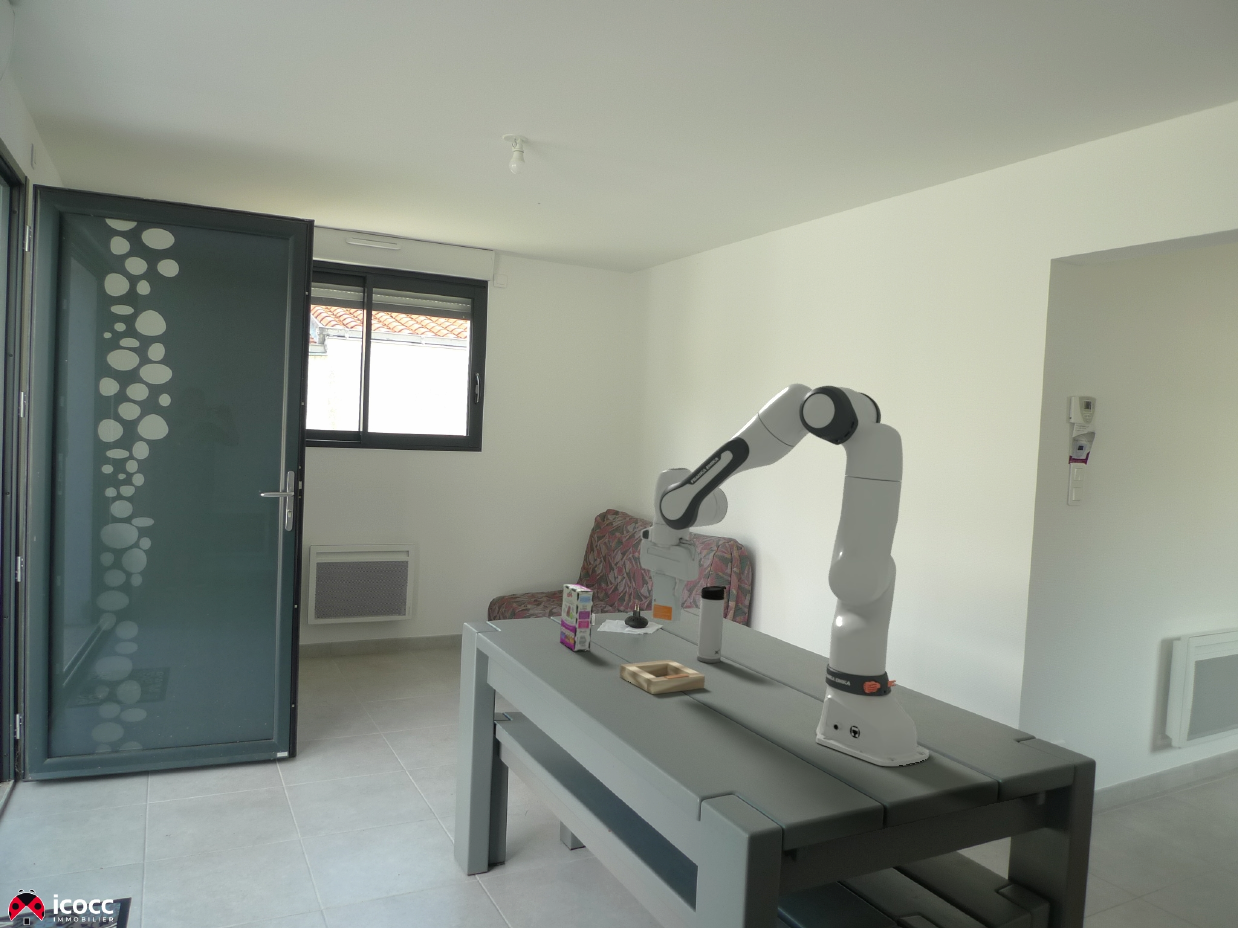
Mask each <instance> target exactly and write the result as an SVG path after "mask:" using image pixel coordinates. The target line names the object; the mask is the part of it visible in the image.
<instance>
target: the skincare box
mask: <svg viewBox="0 0 1238 928" xmlns="http://www.w3.org/2000/svg"><path fill="white" fill-rule="evenodd" d="M676 584H677V583H676V578H675V577H671V576H668V575H666V574H665V572H664V571H661V570H658V569H656V570H654V579H653V581H652V595H651V596H652V599H651V614H650V615H651V616H650V619H651V620H656V621H661V622H665V623H666V622H667V623H670V624H671V623H672V624H674V623H677V622H679V621H681V617H682V616H681V615H682V614H681V612H682V599H683V598H682V597H683V595H682V596H681V597H675V596H673V589H675V587H676Z"/></svg>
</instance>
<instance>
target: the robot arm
mask: <svg viewBox="0 0 1238 928" xmlns="http://www.w3.org/2000/svg"><path fill="white" fill-rule="evenodd" d="M881 421H882V413H881V409H880V407H879V405H878V402H876V401H875V400H874V398H872V397H871V396H870V395H868V394H867V393H864V392H860V391H856V390H854V389H852V388H850V387H843V386H834V385H822V386H818V387H816V388H814V389H812V388H811V387H809V386H807V385H805V384H802V383H798V382H797V383H791V384H789V385H788V386H786V387H784V388H783V389H781V391H779V392H778V393H776V394H775V395H774V396H773V397H771V398H770V399H769V400H768V401H767V402H766V403H765V404H764V405H763V406H762V407H761V408H760V409H759V410H758V411H757V412H756V414H754V415H753V416H752V417H751V419H750V420H748V421H747V423H746V424H745V425H744V426H742V427H741V428H740V430H738V431H737V432H736V433H735V434H734V435H733V436H732V437H731V438H729V439H728V440H727V441H726V442H725V443H723V445H721V446H720V447H719V448H718V449H716V450H715V451H714V452H713V453H711V455H710V456H708V458H706V459H705V460H704V461H702V463H701V464H699V465H698V466H697V467H696V468H695V470H693V471H691V470H690V469H689V468H687V467H686V468H685V467H678V468H674V467H673V468H669V469H668V468H667V469H663V470H661V471H660V472H659V473H658V476H657V477H656V482H655V488H654V498H653V505H654V507H653V508H654V517H653V519H652V526H649V527H647V528H644V529H642V530H641V531H640V539H642V541H641V543H640V553H639V561H640V566H641V568H642V569H646V570H649V571H650V578H651V580H652V582H653V579H654V570H656V569H658V570H661V571H664V572H665V574H666V575H668V576H671V577H675V578H676V583H677V584H676V587H675V589H673V596H675V597H681V596H682V597H683V590H684V588H685V586H686V584H687V582H691V581H692V582H693V581H696V580H698V578H699V575H700V563H699V560H700V559H699V553H698V549H697V546H696V544H695V543H694V541H693V540H690V528H697V527H698V528H701V527H707V526H714V525H717V524H719V523H721V522H722V521H723V520H724V519H725V517H726V516H727V512H728V507H729V506H728V505H729V504H728V502H729V501H728V498H727V496H726V493H725V492H724V491H723V490H722V489H721V488H720V487H721V486H723V484H724V483H726V482H727V481H728V480H729V479H731V478H732V477H733V476H735V475H737V474H739V473H742V472H745V471H748V470H752V469H757V468H762V467H765V466H771V465H774V464H775V463H777V462H778V461H781V459H782V458H784V457H786V456H787V455H788V454H789V453H790V452H792V450H793V449H794V448H795V447H796V446H798V444H799V443H800V442H801V441H802V440H803V439H804V438H805V437H806V436H807V435H808V434H811V435H813V436H815V437H816V438H819V439H820V440H823V441H826V442H829V443H831V444H832V445H835V446H839V445H841V446H842V447H843V448H844V451H845V455H846V464H845V471H844V481H843V489H842V490H843V491H842V502H841V510H840V517H839V522H838V526H837V530H836V535H835V540H834V544H833V550H832V556H831V561H830V566H829V570H828V571H829V572H828V577H827V578H828V585H829V588H830V590H831V592H832V593H833V595H834V596H835V597H836V598H837V599H836V606H835V611H834V616H833V620H832V623H831V628H830V629H831V631H830V642H829V643H830V645H829V661H828V663H827V664H826V670H825V683H826V691H825V695H824V696H825V697H824V700H823V705H822V709H821V716H820V719H819V722H818V725H817V727H816V730H815V733H816V738H815V742H816V743H817V744H819V745H822V746H825V747H828V748H830V749H834V750H836V751H839V752H841V753H844V754H846V755H850V756H853V757H856V758H857V759H861V760H863V761H865V762H869V763H872V764H875V765H877V766H881V767H882V766H883V767H900V766H899V765H903V766H907V765H906V764H909V763H915V762H919V763H921V762H920V761H922V760H924V761H926V760H927V759H929V757H930V751H929V750H928V749H926V748H925V747H923V746H921V745H919V744H918V733H917V732H918V731H917V727H916V723H915V721H914V720H913V719H912V718H911V716H910V715H909V714H908V713H907V712H906V711H905V709H904V708H903V707H902V705H901V704H900V703H899V702H898V700H897V699H896V697H894V696H893V694H892V687H896V684H894V683H897V680H895V679H894V680H890V679H889V675H888V673H887V672H888V671H886V667H887V665H886V664H887V653H888V652H887V650H888V638H889V637H888V636H889V628H890V622H891V616H892V609H893V601H894V596H895V595H894V594H895V587H896V577H897V576H896V575H897V565H896V562H895V560H894V558H893V556H892V550H893V549H892V548H893V543H894V539H895V538H894V537H895V533H896V528H897V525H898V520H899V512H900V511H899V510H900V500H901V495H902V494H901V492H902V485H903V470H904V468H903V467H904V460H903V458H904V454H903V443H902V436H901V434H900V432H899V431H898V430H897V429H895V427H893V426H891V425H888V424H886V423H883V422H881ZM925 759H926V760H925ZM922 762H923V761H922ZM915 764H916V763H915Z"/></svg>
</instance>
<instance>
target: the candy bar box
mask: <svg viewBox="0 0 1238 928" xmlns="http://www.w3.org/2000/svg"><path fill="white" fill-rule="evenodd" d="M562 587H563V588H562V604H561V621H560V633H559V636H560V637H559V643H561V644H562V643H563V644H562V645H563V646H565V645H566V646H565V647H567V648H568V647H569V648H568V649H570V650H571V649H572V650H571V651H573V652H586V651H585V650H588V651H587V652H589V650H590V651H591V636H592V624H593V623H592V620H593V619H592V618H593V610H594V609H593V606H594V594H595V593H594V592H595V591H594V590H592V589H590V588H588V587H586V586H583V585H581V584H578V583H574V584H573V583H571V584H570V583H568V584H563V585H562Z"/></svg>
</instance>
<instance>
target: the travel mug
mask: <svg viewBox="0 0 1238 928" xmlns="http://www.w3.org/2000/svg"><path fill="white" fill-rule="evenodd" d="M725 590H727V586H726V585H710V586H704V587H702V588H701V595H700V604H699V605H700V607H699V623H698V637H697V638H698V640H697V654H696V655H697V657H696V659H697V661H700V662H701V663H707V664H716V663H719V662H721V658H722V655H721V654H722V640H723V628H724V627H723V626H724V625H723V624H724V611H725V610H724V609H725Z"/></svg>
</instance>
